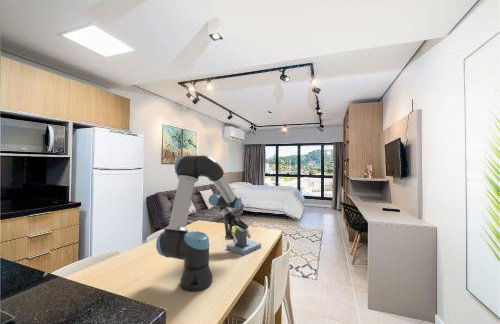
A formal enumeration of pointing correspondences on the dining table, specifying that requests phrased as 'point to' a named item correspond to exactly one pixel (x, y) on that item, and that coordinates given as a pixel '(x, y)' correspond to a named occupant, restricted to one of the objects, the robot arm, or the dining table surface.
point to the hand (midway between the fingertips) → (243, 240)
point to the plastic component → (234, 230)
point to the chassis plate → (250, 247)
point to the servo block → (241, 237)
